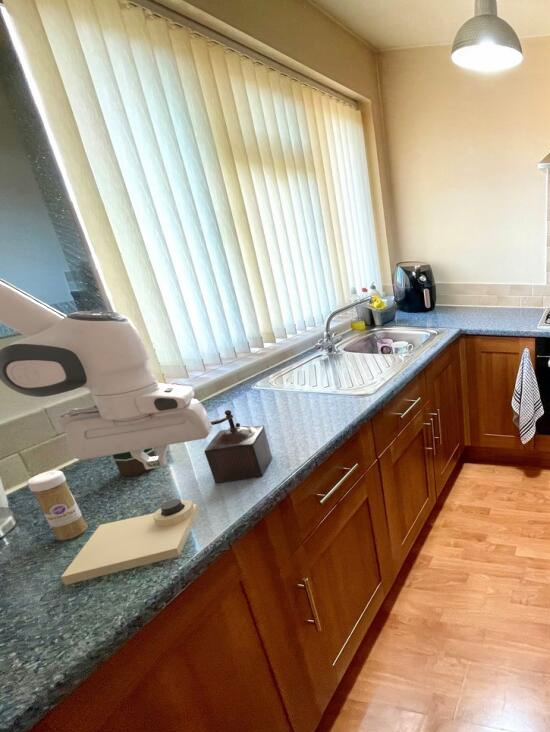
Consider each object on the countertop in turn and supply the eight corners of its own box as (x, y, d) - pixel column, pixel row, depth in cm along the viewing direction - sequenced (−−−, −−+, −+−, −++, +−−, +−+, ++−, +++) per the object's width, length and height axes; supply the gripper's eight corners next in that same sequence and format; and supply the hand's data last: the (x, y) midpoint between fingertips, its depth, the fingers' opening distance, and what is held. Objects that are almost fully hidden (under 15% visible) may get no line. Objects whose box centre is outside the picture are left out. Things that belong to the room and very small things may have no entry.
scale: (64, 585, 68) (56, 569, 67) (103, 532, 80) (96, 518, 79) (180, 556, 74) (174, 541, 73) (199, 510, 86) (195, 497, 85)
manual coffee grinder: (274, 454, 108) (258, 392, 101) (263, 477, 98) (244, 410, 91) (207, 463, 104) (185, 399, 97) (188, 488, 94) (163, 419, 87)
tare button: (160, 518, 80) (158, 510, 79) (166, 508, 82) (163, 501, 82) (180, 513, 81) (177, 506, 80) (185, 504, 83) (182, 497, 83)
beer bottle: (130, 462, 104) (95, 376, 95) (166, 457, 106) (134, 372, 98) (113, 479, 97) (73, 387, 89) (151, 474, 99) (116, 383, 91)
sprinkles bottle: (61, 544, 77) (30, 486, 72) (53, 536, 79) (22, 478, 75) (93, 530, 81) (65, 473, 76) (84, 522, 83) (57, 466, 78)
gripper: (43, 419, 66) (77, 489, 71) (193, 397, 74) (215, 462, 79) (64, 404, 71) (95, 470, 77) (202, 386, 79) (222, 447, 84)
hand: (157, 466), depth 78 cm, fingers closed
